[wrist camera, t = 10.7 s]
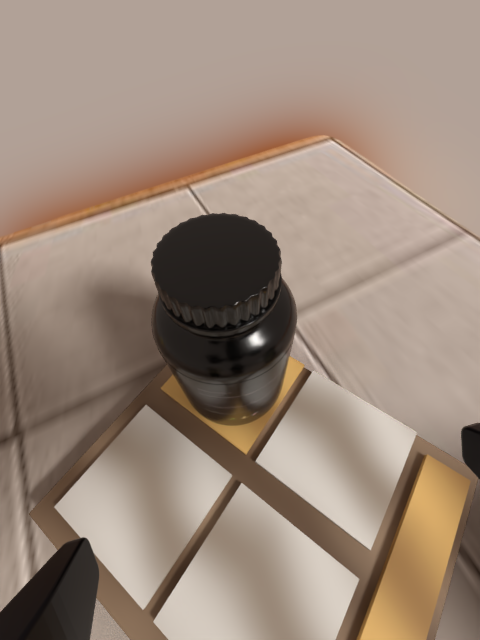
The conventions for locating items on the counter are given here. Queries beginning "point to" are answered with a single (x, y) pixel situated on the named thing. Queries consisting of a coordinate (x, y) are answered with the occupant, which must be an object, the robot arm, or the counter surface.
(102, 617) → the counter surface
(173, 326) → the supplement bottle
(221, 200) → the counter surface
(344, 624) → the wooden tray
